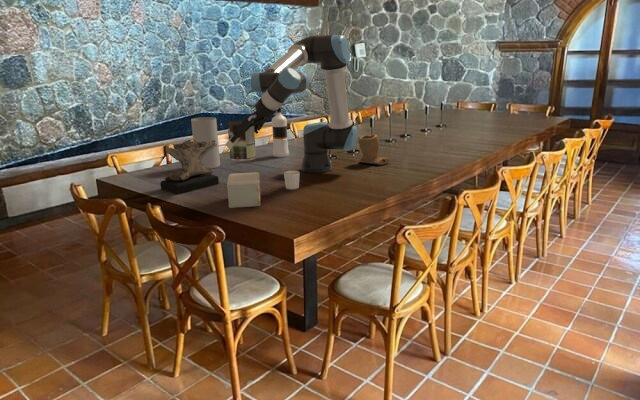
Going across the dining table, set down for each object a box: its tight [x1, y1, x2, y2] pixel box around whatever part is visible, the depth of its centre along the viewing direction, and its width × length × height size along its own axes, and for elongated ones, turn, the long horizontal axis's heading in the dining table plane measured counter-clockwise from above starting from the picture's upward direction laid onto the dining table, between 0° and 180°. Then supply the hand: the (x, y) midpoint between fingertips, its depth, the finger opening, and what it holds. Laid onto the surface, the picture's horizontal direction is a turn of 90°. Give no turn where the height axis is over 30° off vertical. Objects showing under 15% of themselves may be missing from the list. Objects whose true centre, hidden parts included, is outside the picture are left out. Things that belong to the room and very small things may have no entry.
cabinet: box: [226, 171, 261, 209], centre depth 199 cm, size 12×17×10 cm
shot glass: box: [283, 170, 301, 190], centre depth 219 cm, size 7×7×7 cm
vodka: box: [271, 107, 290, 159], centre depth 281 cm, size 9×9×30 cm
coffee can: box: [226, 120, 257, 162], centre depth 194 cm, size 10×10×14 cm
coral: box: [160, 139, 220, 196], centre depth 222 cm, size 25×20×22 cm
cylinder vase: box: [190, 116, 221, 170], centre depth 260 cm, size 12×12×25 cm
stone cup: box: [358, 134, 391, 166], centre depth 258 cm, size 15×12×15 cm
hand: (235, 144), depth 196 cm, fingers closed on coffee can, 10 cm apart
